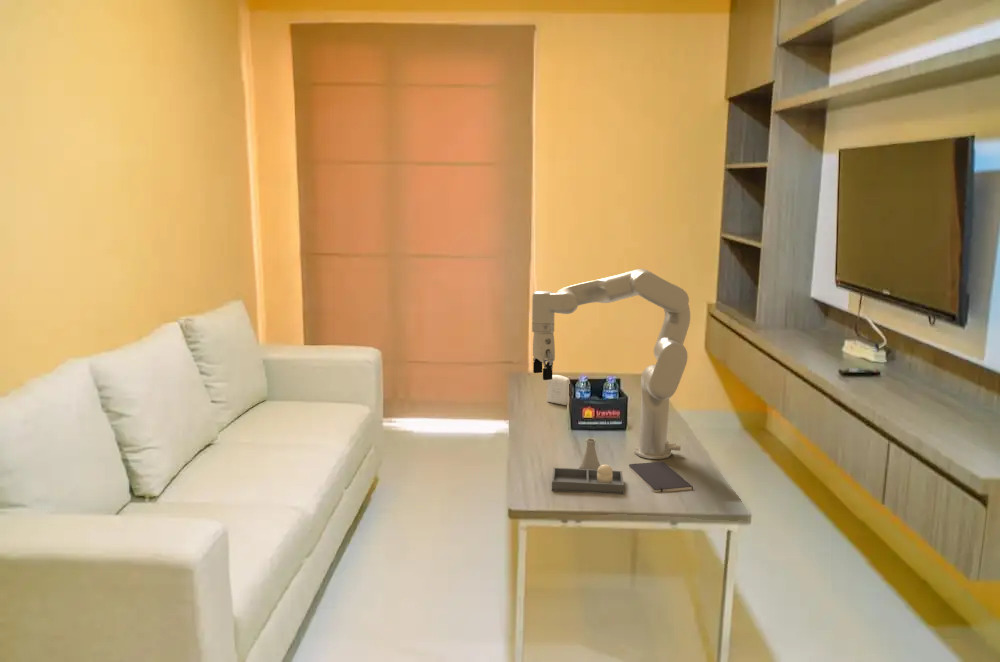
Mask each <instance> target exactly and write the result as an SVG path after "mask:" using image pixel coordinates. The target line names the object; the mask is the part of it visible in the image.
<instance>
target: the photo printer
mask: <svg viewBox="0 0 1000 662" xmlns="http://www.w3.org/2000/svg"><path fill="white" fill-rule="evenodd" d="M546 382H547V383H546V384H547V386H546V387H547V390H546V391H547V392H546V401H547V402H548V403H553V404H559V405H563V406H568V405H569V404H568V398H569V399H570V396H569V384H570V385H571V380H570V378H569V377H567V376H564V375H561V374H560V375H559V374H552V380H546Z"/></svg>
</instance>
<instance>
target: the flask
mask: <svg viewBox="0 0 1000 662" xmlns="http://www.w3.org/2000/svg"><path fill="white" fill-rule="evenodd" d="M585 441H586V449H585V451H584V452H585V453H584V455H583V458H582V460H581V463H580V465H579V469H592V470H598V467H599V466H601V464H600V461H599V457H598V455H597V451H596V441H597V440H596V439H595V438H592V437H591V438H586V440H585Z"/></svg>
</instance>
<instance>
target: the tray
mask: <svg viewBox="0 0 1000 662" xmlns="http://www.w3.org/2000/svg"><path fill="white" fill-rule="evenodd" d="M612 471H613V477H612V484H609V483H597V470H592V469H580V468H571V467H570V468H568V467H553V468H552V477H551V491H555V492H572V493H573V492H574V493H591V494H592V493H593V494H594V493H595V494H610V495H611V494H613V495H624V492H625V491H624V489H625V483H624V476H623V471H622V470H612Z"/></svg>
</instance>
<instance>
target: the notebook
mask: <svg viewBox="0 0 1000 662" xmlns="http://www.w3.org/2000/svg"><path fill="white" fill-rule="evenodd" d="M628 466H629V467H628V468H629V469H630V470H631V472H633V473H634V474H635V475H636V476H637V477H638V478H639V479H640V480H641V482H643V483H644V484H645V485H646V486H647V487H648V488H649V489H650V490H651V491H652V492H654V493H665V492H675V491H686V490H687V491H688V490H693V488H694V487H693V485H691V483H689V482H688V481H687V480H686V479H685V478H683V477H682V476H681V475H680V474H679V473H678V472H676V471H675V470H674V469H673V468H672V467H670V466H669V464H667V463H666V462H665V461H653V462H652V461H651V462H640V463H629V464H628Z"/></svg>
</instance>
